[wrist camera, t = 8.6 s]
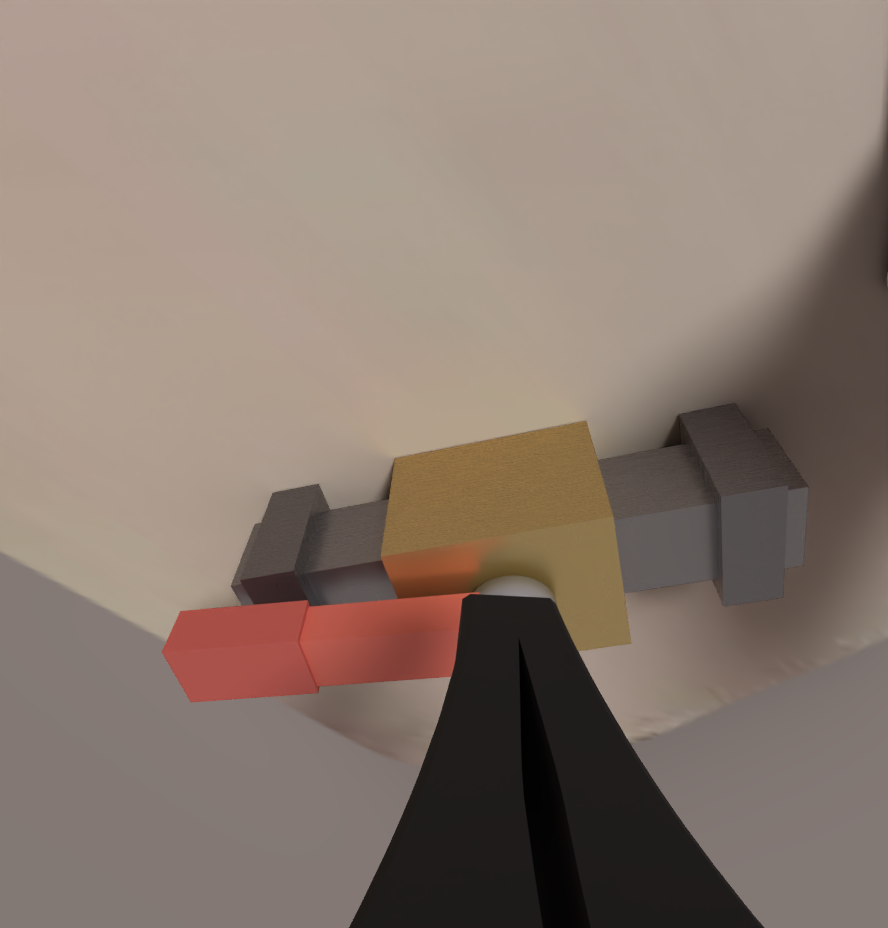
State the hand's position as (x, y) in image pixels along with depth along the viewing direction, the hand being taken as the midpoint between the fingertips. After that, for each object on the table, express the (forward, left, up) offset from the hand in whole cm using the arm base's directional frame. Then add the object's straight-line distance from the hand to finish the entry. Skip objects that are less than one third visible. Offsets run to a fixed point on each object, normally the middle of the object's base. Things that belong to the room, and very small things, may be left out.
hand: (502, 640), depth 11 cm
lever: (+4, +5, -6) cm, 9 cm away
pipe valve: (+1, +5, -10) cm, 12 cm away
